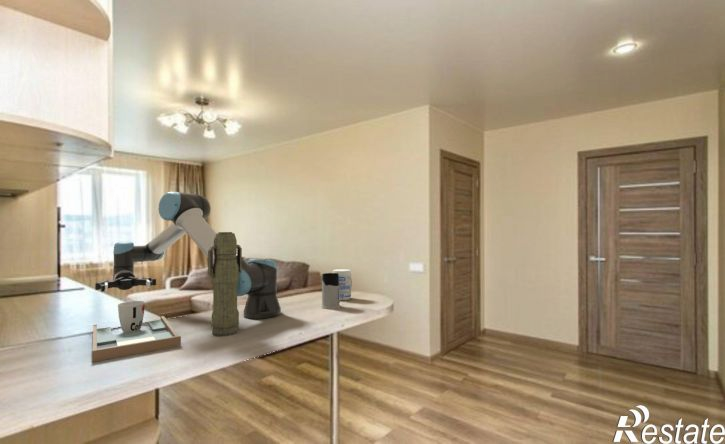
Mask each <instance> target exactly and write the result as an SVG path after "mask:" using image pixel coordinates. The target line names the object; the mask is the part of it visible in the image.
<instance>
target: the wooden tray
mask: <svg viewBox="0 0 725 444" xmlns="http://www.w3.org/2000/svg"><path fill="white" fill-rule="evenodd" d="M92 326H93V327H92V349H91V350H92V351H91V352H92V354H91V357H92V358H91V359H92V361H91V362H92V363H95V362H101V361H104V360H111V359H116V358H122V357H128V356H132V355H133V356H134V355H140V354H144V353H150V352H154V351H160V350H167V349H172V348H179V347H181V345H182V341H181V340H182V339H181V338H182V336H181V335H179V333H177V331H176V330H175V328H174V327H173V326H172V324H171V323H170V322H169V321H168V319H167V318H166V317H165V316H164V315H160V319H159V320H153V321H148V326H149V328H150V329H146V330H140V331H138V332H131V333H119V334H112V330H111V329H112V328H111V326H109V327H108V326H107V327H103V328H97V326H98V325H97V324H94V325H92Z"/></svg>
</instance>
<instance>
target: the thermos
mask: <svg viewBox="0 0 725 444" xmlns="http://www.w3.org/2000/svg"><path fill="white" fill-rule="evenodd" d="M216 233H217V234H216V236H215V238H214V245H213V246H212V247H210V248H209V250H208V258H207V275H208V276H209V277H211V284H212V287H213V288H212V289H213V290H212V291H213V295H212V296H213V297H212V299H213V301H212V303H213V304H212V305H213V306H212V307H213V310H212V313H211V328H212V329H211V330H212V332H211V335H213V336H216V337H226V336H227V337H228V336H231V335H232V336H233V335H235V334H237V333H239V324H240V311H239V309H238V296H237V283H238V281H239V274H240V273H241V271H242V258H243V257H242V255H243V253H242V251H243V249H242V246H241V245H240V244H237V242H238V241H237V238H236V234H235V232H232V231H220V232H219V231H218V232H216ZM213 250H214V263H213ZM236 255H237V258H236Z"/></svg>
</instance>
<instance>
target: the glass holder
mask: <svg viewBox="0 0 725 444" xmlns="http://www.w3.org/2000/svg"><path fill="white" fill-rule="evenodd" d="M346 277H347V276H346ZM346 277H344V278H346ZM321 278H322V279H321V306H320V307H321V309H324V310H335V309H339V308H341V305H340V303H341V301H342V300H341V299H342V298H344V297H345V296H346V295H347V294H348V293H349V291H350V289H351V290H352V286H353V281H352V280H353V279H352V277H351V278H350V277H348V278H350V279H351V287H350V289H349V291H348V293H347V294H346V295H345V296H343V297H342V298H341V299H340V300H339V286H342V285H343V280H344V278H343V280H342V285H339V274H338V273H333V272H328V273H327V272H326V273H322V277H321Z"/></svg>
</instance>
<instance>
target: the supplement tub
mask: <svg viewBox="0 0 725 444" xmlns="http://www.w3.org/2000/svg"><path fill="white" fill-rule="evenodd" d="M351 270H352V269H346V268H341V269H340V268H339V269H337V268H336V269H333V270H332V273H338V274H339V285H342V280H343V278H344V277H346V276H347V277H346V278H344V280H343V285H342V286H339V300H340V299H341V298H342V297H343V296H345V295H346V294H347V293H348V291H349V289H350V287H351V289H350V291H349V293H348V294H347V295H346V296H345V297H344V298H342V299H341V300H340V301H348V300H349V301H350V300H351V298H352V286H351V279H352V271H351ZM348 277H350V278H351V279H350V278H348Z"/></svg>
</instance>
